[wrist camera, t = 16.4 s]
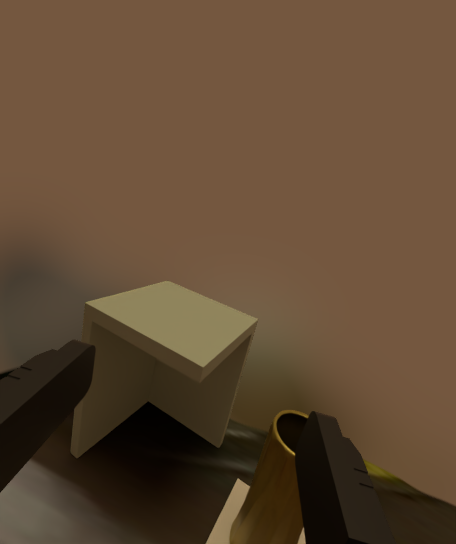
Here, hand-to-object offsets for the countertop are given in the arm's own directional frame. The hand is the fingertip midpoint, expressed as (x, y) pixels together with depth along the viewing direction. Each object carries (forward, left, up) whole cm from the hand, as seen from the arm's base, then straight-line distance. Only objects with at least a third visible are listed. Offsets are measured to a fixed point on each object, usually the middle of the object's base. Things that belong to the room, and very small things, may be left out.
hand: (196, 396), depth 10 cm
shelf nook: (-11, +16, -25) cm, 32 cm away
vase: (+5, +14, -25) cm, 29 cm away
